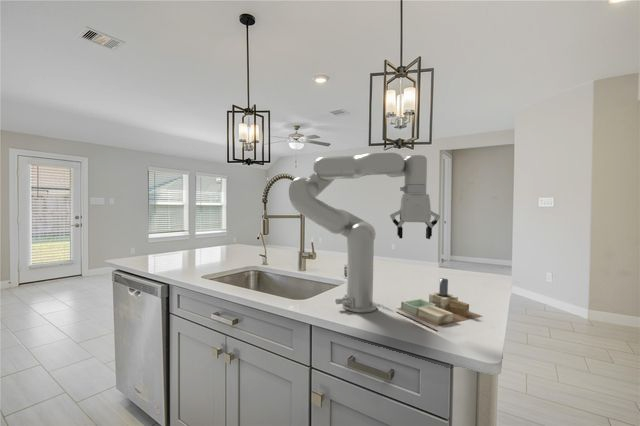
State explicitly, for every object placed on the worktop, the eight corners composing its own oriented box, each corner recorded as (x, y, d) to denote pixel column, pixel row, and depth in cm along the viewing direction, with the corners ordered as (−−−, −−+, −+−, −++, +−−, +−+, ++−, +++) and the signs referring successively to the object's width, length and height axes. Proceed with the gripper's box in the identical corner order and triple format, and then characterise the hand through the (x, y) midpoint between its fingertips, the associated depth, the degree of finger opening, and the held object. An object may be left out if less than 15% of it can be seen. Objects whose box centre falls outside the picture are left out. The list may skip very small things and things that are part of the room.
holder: (444, 310, 107) (444, 299, 107) (428, 304, 113) (429, 293, 113) (457, 307, 110) (458, 296, 110) (442, 302, 116) (442, 291, 116)
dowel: (443, 307, 110) (444, 280, 109) (437, 305, 112) (438, 278, 112) (448, 306, 111) (449, 279, 111) (442, 304, 113) (443, 278, 113)
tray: (417, 315, 101) (417, 308, 101) (401, 308, 107) (401, 301, 107) (436, 312, 105) (436, 304, 105) (420, 305, 112) (420, 298, 112)
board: (436, 331, 92) (436, 313, 92) (396, 312, 108) (396, 297, 108) (482, 320, 102) (483, 304, 102) (439, 304, 118) (440, 290, 118)
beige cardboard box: (437, 324, 93) (437, 316, 93) (418, 316, 100) (418, 308, 100) (452, 321, 96) (453, 313, 96) (433, 313, 104) (433, 305, 103)
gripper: (392, 189, 104) (391, 238, 104) (443, 190, 103) (442, 240, 103) (389, 190, 112) (388, 236, 112) (436, 191, 110) (435, 237, 110)
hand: (414, 238), depth 107 cm, fingers open, 9 cm apart
